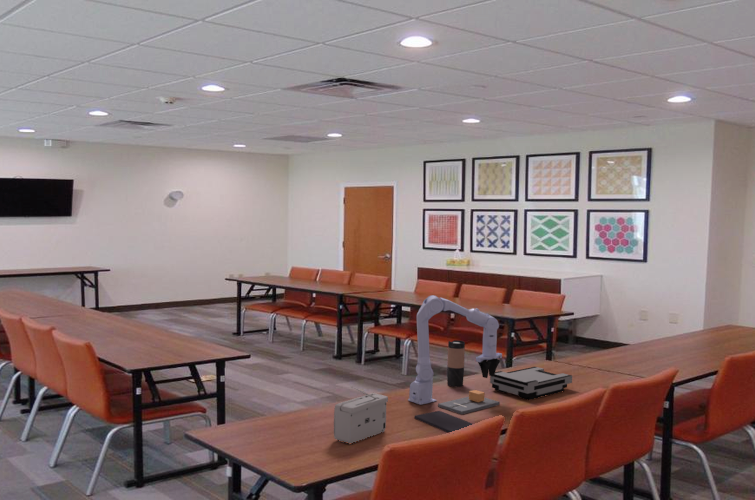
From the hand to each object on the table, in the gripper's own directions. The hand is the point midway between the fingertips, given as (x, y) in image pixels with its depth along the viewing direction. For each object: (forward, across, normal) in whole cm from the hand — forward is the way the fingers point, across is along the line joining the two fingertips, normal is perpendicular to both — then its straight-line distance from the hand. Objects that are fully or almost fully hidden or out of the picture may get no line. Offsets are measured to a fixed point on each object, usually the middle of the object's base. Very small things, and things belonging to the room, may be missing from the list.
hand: (488, 376), depth 285 cm
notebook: (+11, -36, -10) cm, 39 cm away
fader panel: (+10, -12, 0) cm, 16 cm away
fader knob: (+9, -7, 0) cm, 11 cm away
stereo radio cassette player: (+11, -71, -3) cm, 72 cm away
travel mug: (+11, +8, +26) cm, 29 cm away
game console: (+11, +30, 0) cm, 32 cm away
